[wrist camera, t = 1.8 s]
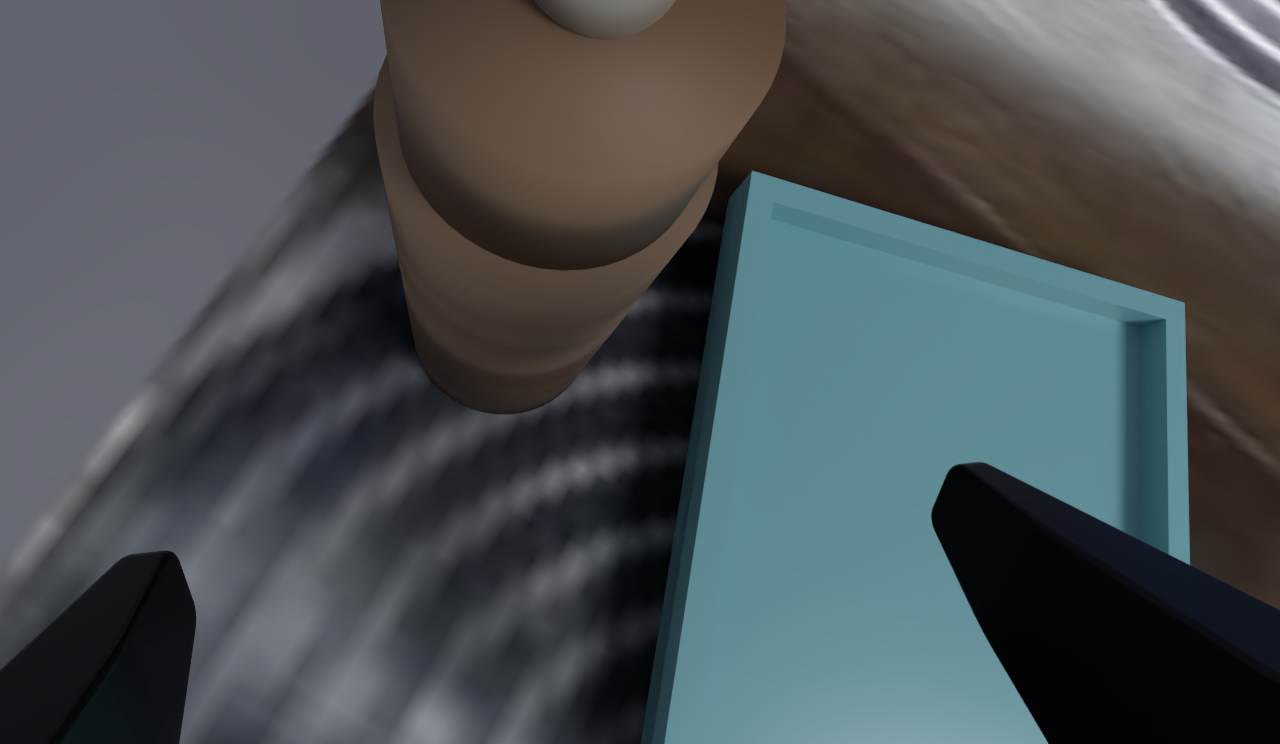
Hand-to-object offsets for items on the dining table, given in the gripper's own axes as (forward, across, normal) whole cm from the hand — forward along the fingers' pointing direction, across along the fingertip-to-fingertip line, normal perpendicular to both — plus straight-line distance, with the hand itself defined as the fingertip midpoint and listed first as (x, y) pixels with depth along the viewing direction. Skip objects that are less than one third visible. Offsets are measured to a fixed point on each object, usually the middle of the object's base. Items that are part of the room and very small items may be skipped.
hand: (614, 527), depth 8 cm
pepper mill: (+13, 0, +4) cm, 13 cm away
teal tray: (+8, -12, +9) cm, 17 cm away
